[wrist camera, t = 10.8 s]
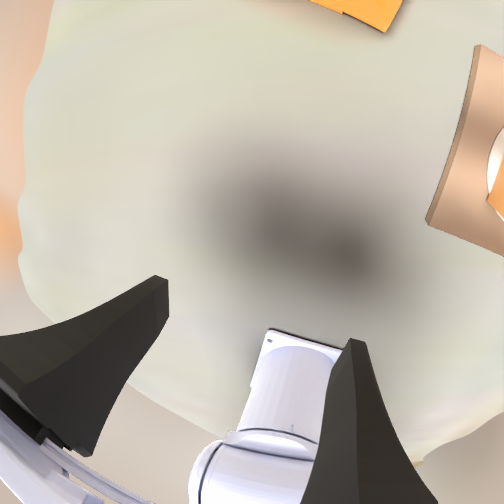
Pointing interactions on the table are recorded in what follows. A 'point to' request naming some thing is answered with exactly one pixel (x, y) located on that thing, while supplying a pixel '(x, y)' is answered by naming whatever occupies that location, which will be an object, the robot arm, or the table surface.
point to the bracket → (366, 10)
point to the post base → (475, 159)
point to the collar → (498, 191)
